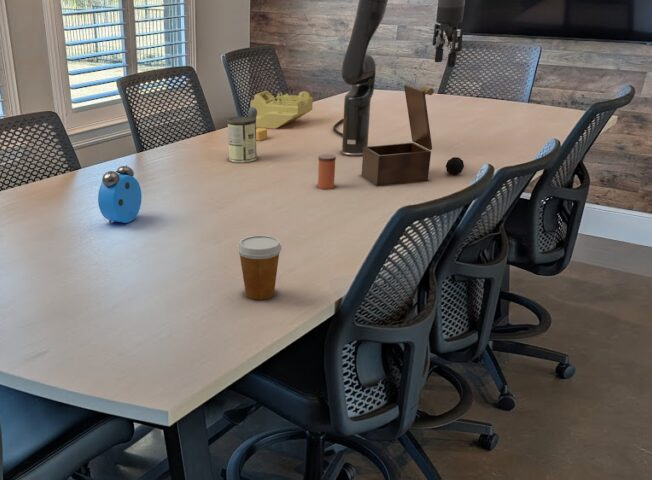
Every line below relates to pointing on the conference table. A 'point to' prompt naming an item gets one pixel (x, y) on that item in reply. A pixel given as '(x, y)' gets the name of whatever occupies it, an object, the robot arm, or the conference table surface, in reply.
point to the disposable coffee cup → (259, 265)
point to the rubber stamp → (260, 132)
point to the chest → (395, 164)
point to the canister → (326, 171)
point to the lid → (418, 114)
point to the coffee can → (242, 139)
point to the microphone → (454, 166)
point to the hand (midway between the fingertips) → (444, 64)
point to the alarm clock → (119, 195)
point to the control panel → (280, 108)
